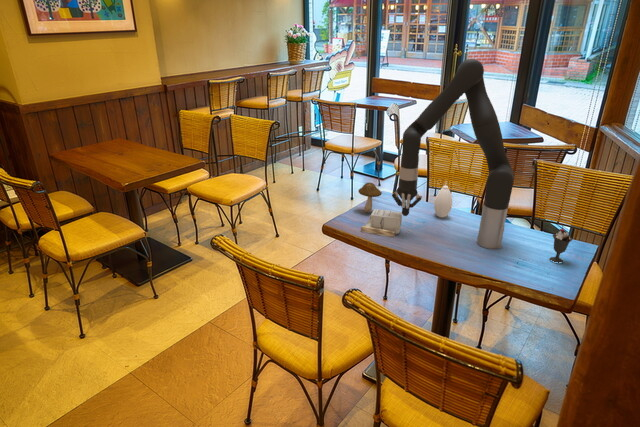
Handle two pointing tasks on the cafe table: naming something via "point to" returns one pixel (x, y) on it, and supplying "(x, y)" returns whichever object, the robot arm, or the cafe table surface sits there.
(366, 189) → the mushroom
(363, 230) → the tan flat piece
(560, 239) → the sundae
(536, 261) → the cafe table surface
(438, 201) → the sauce bottle
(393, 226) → the supplement box
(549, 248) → the cafe table surface
